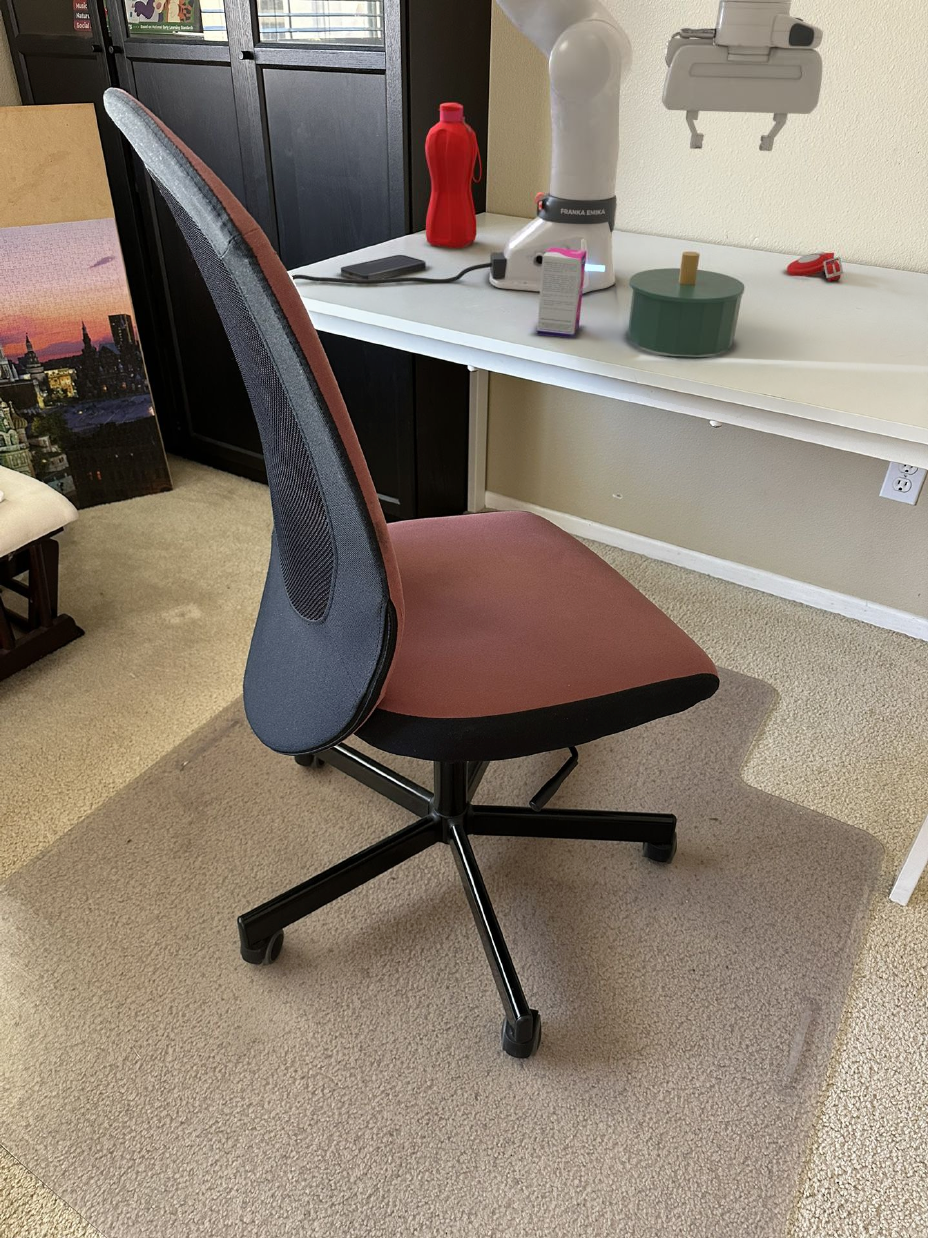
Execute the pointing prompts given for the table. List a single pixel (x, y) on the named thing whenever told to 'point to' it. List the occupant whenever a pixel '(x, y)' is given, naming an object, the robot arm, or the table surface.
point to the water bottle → (451, 179)
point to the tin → (682, 325)
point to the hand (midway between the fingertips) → (730, 149)
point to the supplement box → (561, 292)
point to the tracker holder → (817, 265)
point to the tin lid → (687, 283)
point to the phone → (383, 268)
